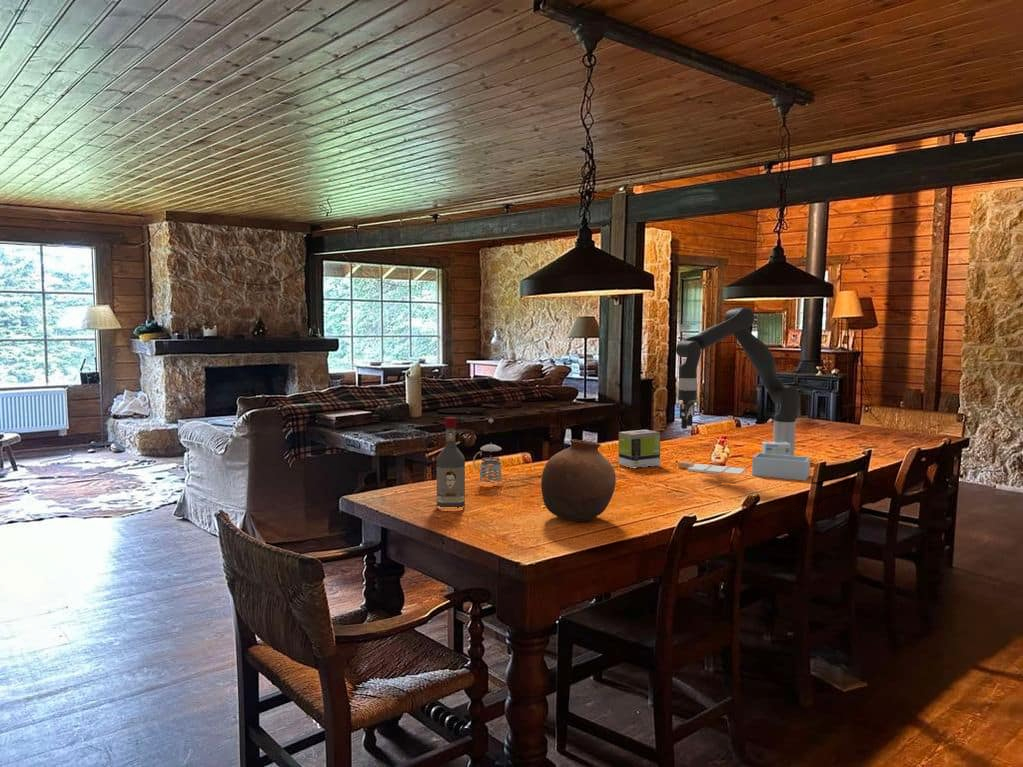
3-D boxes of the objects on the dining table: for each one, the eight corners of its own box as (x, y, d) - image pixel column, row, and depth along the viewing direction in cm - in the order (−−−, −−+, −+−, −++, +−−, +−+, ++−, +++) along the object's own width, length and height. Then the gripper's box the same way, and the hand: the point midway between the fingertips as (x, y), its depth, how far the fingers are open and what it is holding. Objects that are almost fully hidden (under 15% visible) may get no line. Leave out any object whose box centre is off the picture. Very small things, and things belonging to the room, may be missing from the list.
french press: (500, 488, 275) (500, 420, 273) (470, 486, 277) (470, 419, 275) (506, 482, 284) (506, 417, 282) (476, 481, 287) (476, 416, 284)
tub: (757, 472, 305) (757, 452, 304) (809, 477, 295) (810, 457, 295) (752, 477, 295) (752, 457, 294) (806, 482, 286) (806, 461, 285)
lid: (683, 465, 320) (683, 459, 319) (745, 471, 307) (745, 465, 307) (675, 469, 309) (675, 464, 309) (739, 476, 297) (739, 470, 297)
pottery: (530, 523, 226) (530, 442, 224) (556, 506, 247) (557, 432, 245) (602, 532, 217) (603, 448, 215) (623, 514, 238) (624, 436, 236)
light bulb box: (786, 466, 318) (787, 441, 317) (790, 469, 311) (791, 444, 310) (760, 465, 319) (761, 440, 318) (764, 468, 312) (765, 443, 311)
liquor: (437, 505, 249) (436, 416, 247) (464, 504, 250) (464, 415, 247) (436, 511, 240) (436, 419, 237) (464, 511, 241) (464, 419, 238)
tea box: (646, 462, 326) (647, 428, 325) (660, 466, 317) (661, 432, 316) (617, 465, 319) (618, 430, 318) (631, 469, 310) (631, 434, 309)
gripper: (683, 387, 318) (682, 424, 320) (674, 389, 306) (673, 428, 307) (700, 387, 315) (700, 425, 316) (692, 390, 302) (691, 430, 304)
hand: (686, 427), depth 312 cm, fingers open, 8 cm apart
